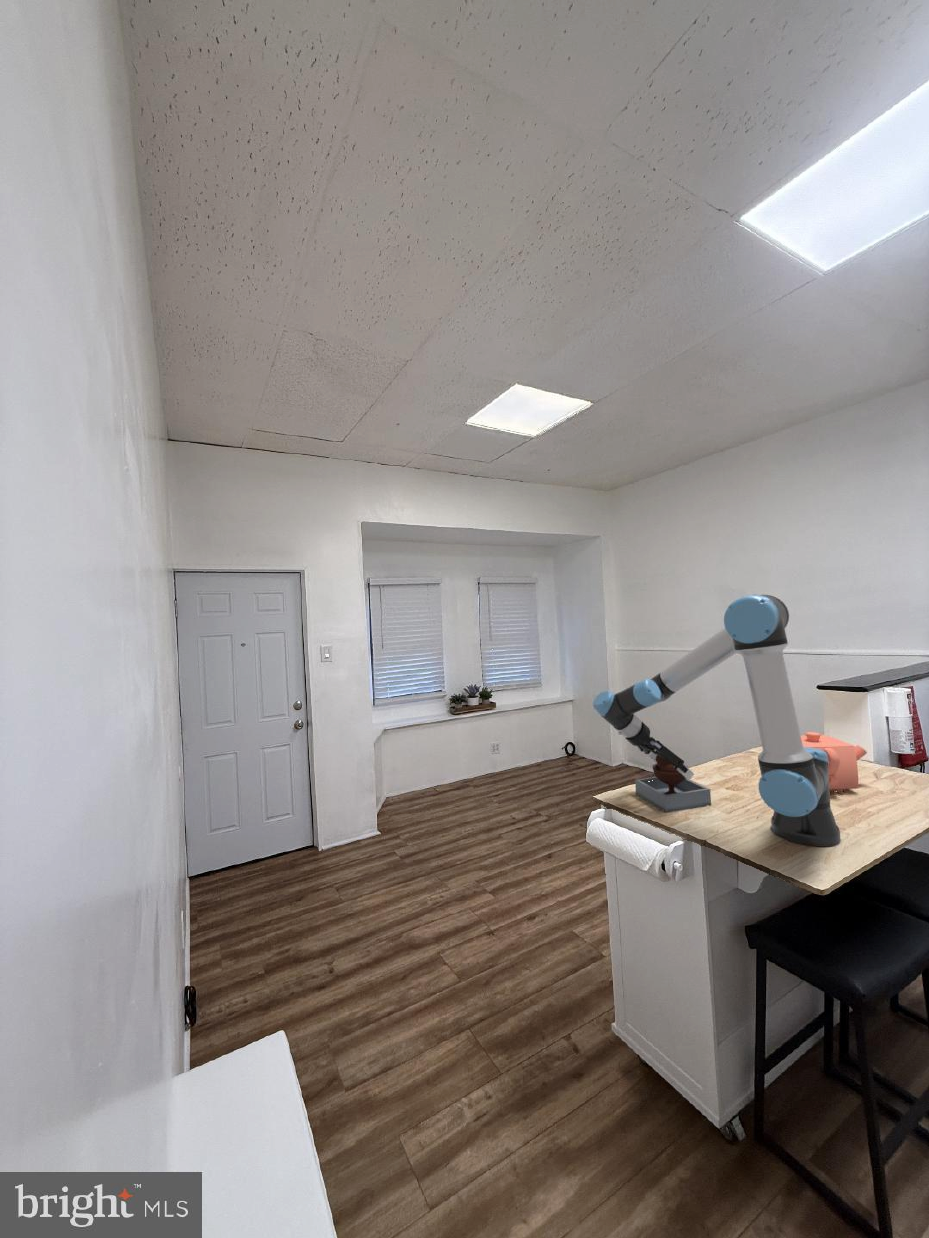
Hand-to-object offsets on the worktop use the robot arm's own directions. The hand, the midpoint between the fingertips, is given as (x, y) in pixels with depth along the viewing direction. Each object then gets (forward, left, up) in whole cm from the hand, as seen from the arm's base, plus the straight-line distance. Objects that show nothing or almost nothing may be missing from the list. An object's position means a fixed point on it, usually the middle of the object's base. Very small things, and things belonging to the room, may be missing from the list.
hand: (676, 770), depth 157 cm
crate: (0, +2, -9) cm, 9 cm away
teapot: (-8, -51, -9) cm, 52 cm away
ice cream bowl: (0, +2, -8) cm, 9 cm away
